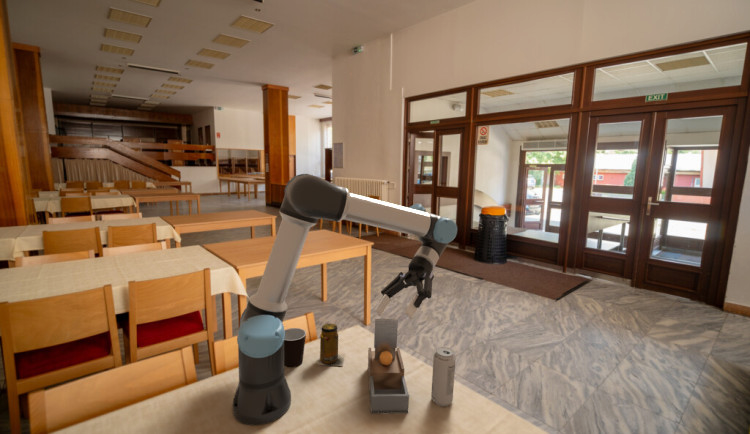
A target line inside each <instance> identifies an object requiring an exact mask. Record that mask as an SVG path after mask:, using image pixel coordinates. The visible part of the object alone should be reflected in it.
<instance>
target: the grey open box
mask: <svg viewBox="0 0 750 434" xmlns="http://www.w3.org/2000/svg"><path fill="white" fill-rule="evenodd" d="M409 399H410V394H409V391H408V387H407V382H406V378H405V375H404V376H401V389H374V383H373V376H370V391H369V403H370V414H408V413H409V404H410V400H409Z"/></svg>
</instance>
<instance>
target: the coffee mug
mask: <svg viewBox="0 0 750 434" xmlns="http://www.w3.org/2000/svg"><path fill="white" fill-rule="evenodd" d="M284 330H285V338H284V367H286V368H289V369H290V368H297V367H299V366H301V365H302V364H303V360H304V354H305V353H304V352H305V346H306V337H307V331H306V330H305V329H304V328H300V327H290V328H287V329H284Z"/></svg>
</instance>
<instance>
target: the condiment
mask: <svg viewBox="0 0 750 434" xmlns="http://www.w3.org/2000/svg"><path fill="white" fill-rule="evenodd" d="M319 337H320V338H319V339H320V340H319V341H320V342H319V343H320V348H319V349H320V351H319V353H320V354H319V359H318V362H317V364H316V365H317V366H329V367H330V366H333V367H339V366H340V367H343V365H344V361H345V357H346V354H343V353H342V354H341V353H339V333H338V326H337V325H336V324H335V323H325V324H323V325H322V326H321V333H320V335H319Z"/></svg>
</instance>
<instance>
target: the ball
mask: <svg viewBox="0 0 750 434" xmlns="http://www.w3.org/2000/svg"><path fill="white" fill-rule="evenodd" d="M379 359H380V362H381V363H382V364H383V365H389V364H390V363H391V362H392V359H393V357H392V354H391V353H390V352H388V351H384V352H382V353H381V354H380V357H379Z"/></svg>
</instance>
